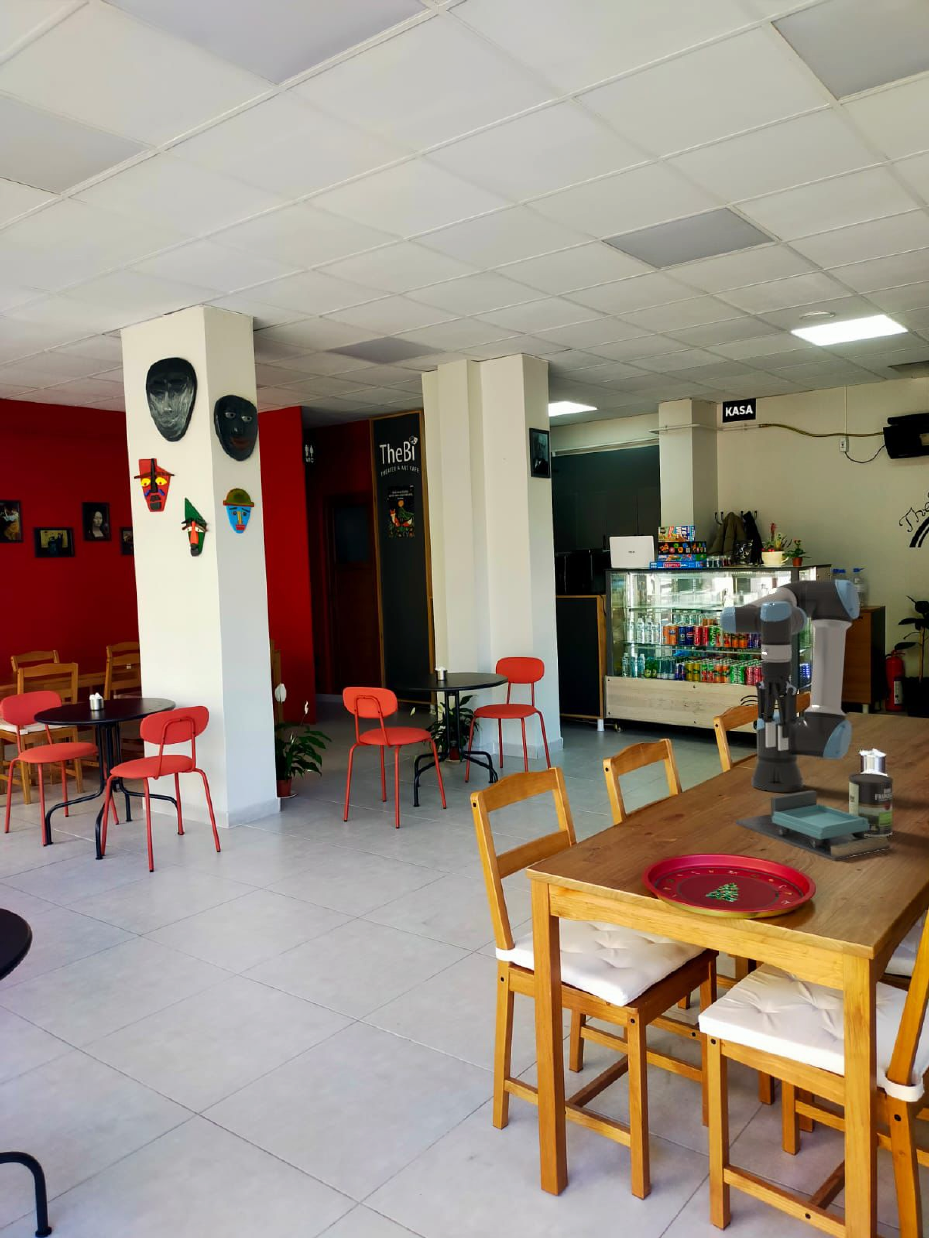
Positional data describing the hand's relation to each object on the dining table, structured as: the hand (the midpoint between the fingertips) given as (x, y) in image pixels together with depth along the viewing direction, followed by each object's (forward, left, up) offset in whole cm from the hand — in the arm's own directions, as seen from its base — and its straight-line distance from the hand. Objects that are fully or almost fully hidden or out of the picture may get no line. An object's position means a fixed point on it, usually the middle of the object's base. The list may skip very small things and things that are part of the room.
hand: (776, 747), depth 235 cm
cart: (+14, 0, -20) cm, 24 cm away
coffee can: (+16, +16, -21) cm, 31 cm away
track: (+11, 0, -21) cm, 23 cm away
